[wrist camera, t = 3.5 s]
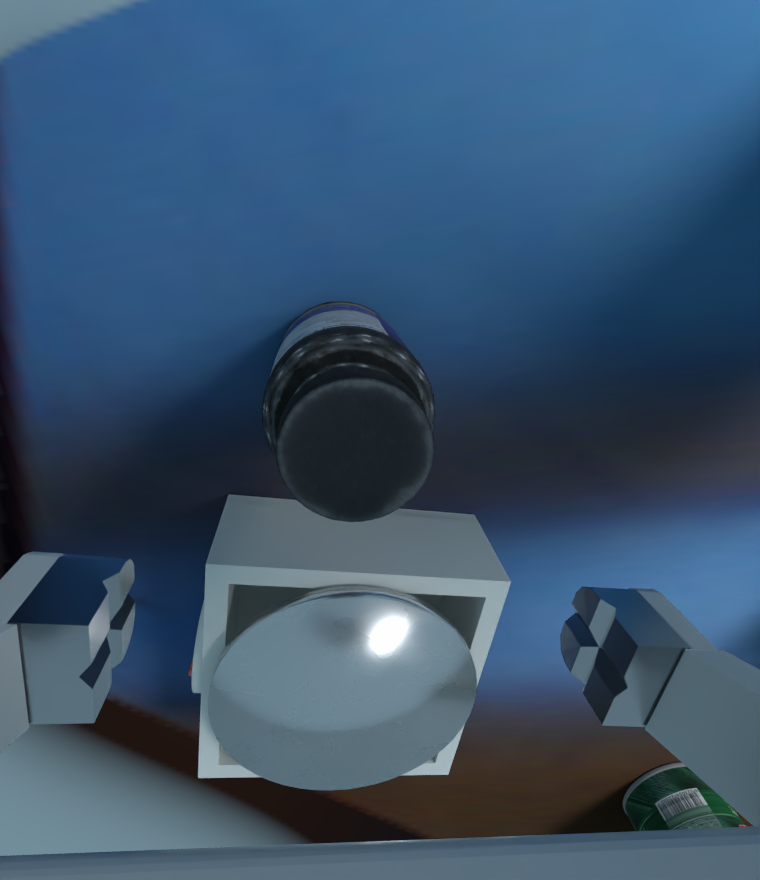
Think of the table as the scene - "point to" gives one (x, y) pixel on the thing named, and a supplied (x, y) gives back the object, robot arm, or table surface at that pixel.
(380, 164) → the table surface
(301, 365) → the pill bottle
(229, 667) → the scale pan
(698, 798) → the canned tomato
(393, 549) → the scale housing
